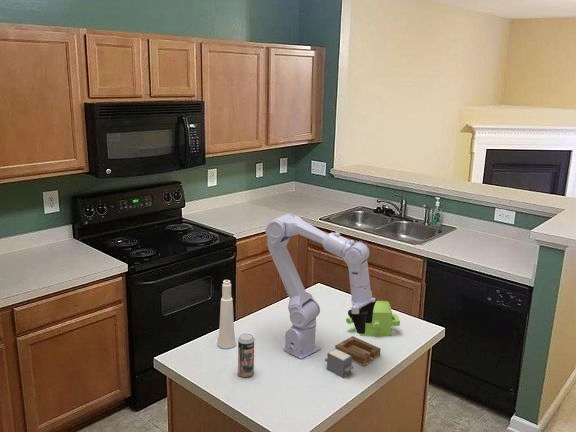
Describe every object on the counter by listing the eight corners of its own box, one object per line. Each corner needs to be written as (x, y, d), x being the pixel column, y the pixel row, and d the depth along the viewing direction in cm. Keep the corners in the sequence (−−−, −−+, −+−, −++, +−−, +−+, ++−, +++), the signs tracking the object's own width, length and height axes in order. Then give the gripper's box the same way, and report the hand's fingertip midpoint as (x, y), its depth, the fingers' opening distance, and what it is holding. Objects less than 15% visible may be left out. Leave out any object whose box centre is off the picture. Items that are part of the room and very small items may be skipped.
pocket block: (363, 366, 164) (363, 358, 163) (334, 352, 171) (335, 345, 171) (380, 355, 170) (380, 348, 170) (352, 343, 178) (352, 336, 177)
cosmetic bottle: (237, 340, 177) (237, 277, 171) (234, 349, 171) (234, 285, 165) (219, 339, 177) (219, 276, 172) (215, 348, 172) (215, 284, 166)
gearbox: (346, 339, 182) (348, 314, 179) (343, 324, 191) (345, 300, 188) (400, 339, 182) (402, 314, 179) (394, 324, 191) (396, 300, 188)
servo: (345, 379, 157) (346, 362, 155) (323, 368, 163) (324, 351, 161) (354, 374, 160) (355, 357, 158) (332, 363, 165) (333, 346, 164)
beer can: (240, 379, 155) (241, 342, 152) (235, 371, 159) (235, 334, 156) (256, 376, 157) (257, 339, 154) (250, 367, 161) (251, 331, 158)
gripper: (366, 293, 150) (371, 338, 152) (379, 276, 163) (384, 318, 165) (342, 292, 153) (347, 337, 155) (357, 276, 166) (361, 318, 168)
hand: (364, 327), depth 160 cm, fingers open, 7 cm apart
